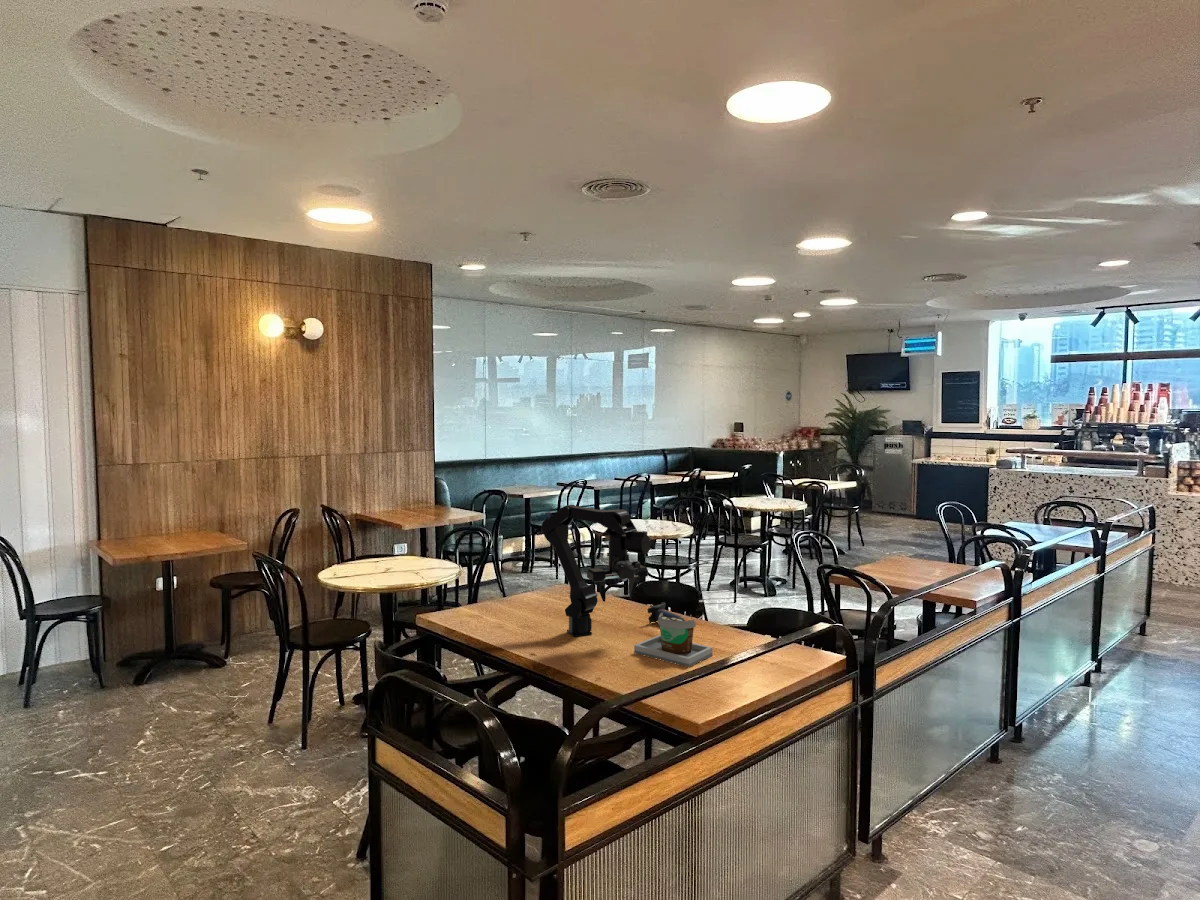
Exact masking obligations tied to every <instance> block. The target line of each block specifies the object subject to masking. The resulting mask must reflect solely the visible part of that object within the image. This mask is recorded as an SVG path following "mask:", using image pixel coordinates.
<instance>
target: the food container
mask: <svg viewBox="0 0 1200 900" xmlns="http://www.w3.org/2000/svg"><path fill="white" fill-rule="evenodd" d="M683 619H684V618H683ZM683 619H680V618H672V617H666V616H663V613H661V614H660V615H659V617H658V622H657V625H659V630H660V633H659V634H660V635H661V645H662V650H663V651H665V652H669V653H673V654H688V653H691V649H692V643H693V637H694V629H695V628H696V621H695V619H692V620H691V619H690V620H685V619H684V620H683Z"/></svg>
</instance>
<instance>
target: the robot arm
mask: <svg viewBox="0 0 1200 900" xmlns="http://www.w3.org/2000/svg"><path fill="white" fill-rule="evenodd" d="M574 519H575V520H580V521H585V522H586V521H587V522H592V523H596V524H597V523H598V524H599V525H601V526H602V527H604V528H606V530H605V531H604V532H602V536H605V537H607V536H608V552H607V553H606V556H607V557H608V565H606V569H607V570H603V569H602V568H599V567H596V568H588V570H587V572H586V578H587V579H589V580H591V581H592V582H594V584H595V586H596V587H597V589H598V592H599V594H600V597H601V600H602V602H604V603H605V602H606V598H607V597H606V584H607V581H606V580H605V579H606V577H607V578H608V577H618V578H619V579H621V580H626V579H628V595H629V599H630V600H632V599H633V597H634V594H635V591H636V590H637V586H638V585H639V583H640V582H641V581H642V580H644V579H645V578H646V577H649V570H648V568H647V567H646V566H644V565H641V562H640V561H639V560H636V561H635V560H634V561H630V556H629V554H628V552H629V553H633V554H634V553H635V554H643V555H644V554H645V555H647V554H648V553H649V552H650V549H651V547H652V542H651V538H650V537H649V535H648V531H646V530H642V531H641V530H638V529H637V528H636V526H635V524H634V522H633V521H632V519H631V516H630V514H629V512H628V510H626V509H609V510H604V509H596V508H592V507H585V506H579V505H575V504H567V505H564V506H563V507H561V508H560V510H558V511H557V512H555V513H554V514H553V515H551V516H550V517H549V518H547V519H546V518H545V519H544V520H543V521H542V523H541V525H540V526H541V527H540V530H541V532H542V535H544V538H545V539H546V541H547V542H548V543H550V544H551V545H552V546H553V548H554V550H555V553H556V556H557V557H558V561H559V563H560V565H561V568H562V570H563V572H564V575H565V578H566V580H567V583H568V585H569V587H570V591H569V599H570V604H569V605H568V606H567V607H566V608H565V609H564V612H565V616H566V617H568V629H566V632H567V633H568V634H570V635H571V636H572V637H579V636H580V637H581V636H589V635H593V632H592V622H593V621H592V617H591V613H593V612H594V609H595V608H596V607H597V604H598V596H599V594H598V593H597V592H596V590H595V587H594V584H593V583H591V584H588V583H587V582H586V580H584V577H583V574H582V573H581V570H580V567H579V565H578V562H577V560H576V557H575V555H574V553H573V550H572V547H571V545H570V543H569V528H568V526H569V525H570V524H571V523H572V522H573V520H574Z"/></svg>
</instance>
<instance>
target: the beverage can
mask: <svg viewBox="0 0 1200 900" xmlns="http://www.w3.org/2000/svg"><path fill="white" fill-rule="evenodd" d="M661 613H663V616H666V617H672V618H680V619H683V620H685V619H684V617H683V616H681V615H679V614H676V613H673V612H672V611H668V610H666V602H665V601H663V602H660V603H659V604H656V605H653V604H650V605H649V607H648V608H647V614H650V615H649V616H648V622H649V624H650V623H651V622H656V621H658V617H659V615H660V614H661Z"/></svg>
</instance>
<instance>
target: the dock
mask: <svg viewBox="0 0 1200 900" xmlns="http://www.w3.org/2000/svg"><path fill="white" fill-rule="evenodd" d="M635 653H636V654H635ZM633 654H635V655H638V654H640V655H639V656H642V655H645V656H644V657H646V656H649V657H648V658H650V657H652V658H651V659H654V658H657V659H656V660H658V659H661V660H664V661H663V662H665V661H668V662H667V663H669V662H672V663H671V664H673V663H676V664H675V665H677V664H679V665H678V666H681V665H683V666H682V667H684V666H687V667H686V668H688V667H689V668H690V666H691V667H693V666H695V665H697V664H699V663H701V662H703V661H705V660H706V659H708V658H711V657H712V656H713V647H711V646H709V645H703V644H700V643H699V644H698V643H696V642H695V643H694V642H692V649H691V653H688V654H673V653H669V652H665V651H663V650H662V645H661V634H657V635H655V636H653V637H651V638H648V639H645V640H643V641H641V642H638V643H635V644H634V646H633ZM704 659H705V660H704ZM661 660H660V661H661ZM702 660H703V661H702ZM700 661H701V662H700ZM698 662H699V663H698ZM696 663H697V664H696ZM694 664H695V665H694ZM692 665H693V666H692Z"/></svg>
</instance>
